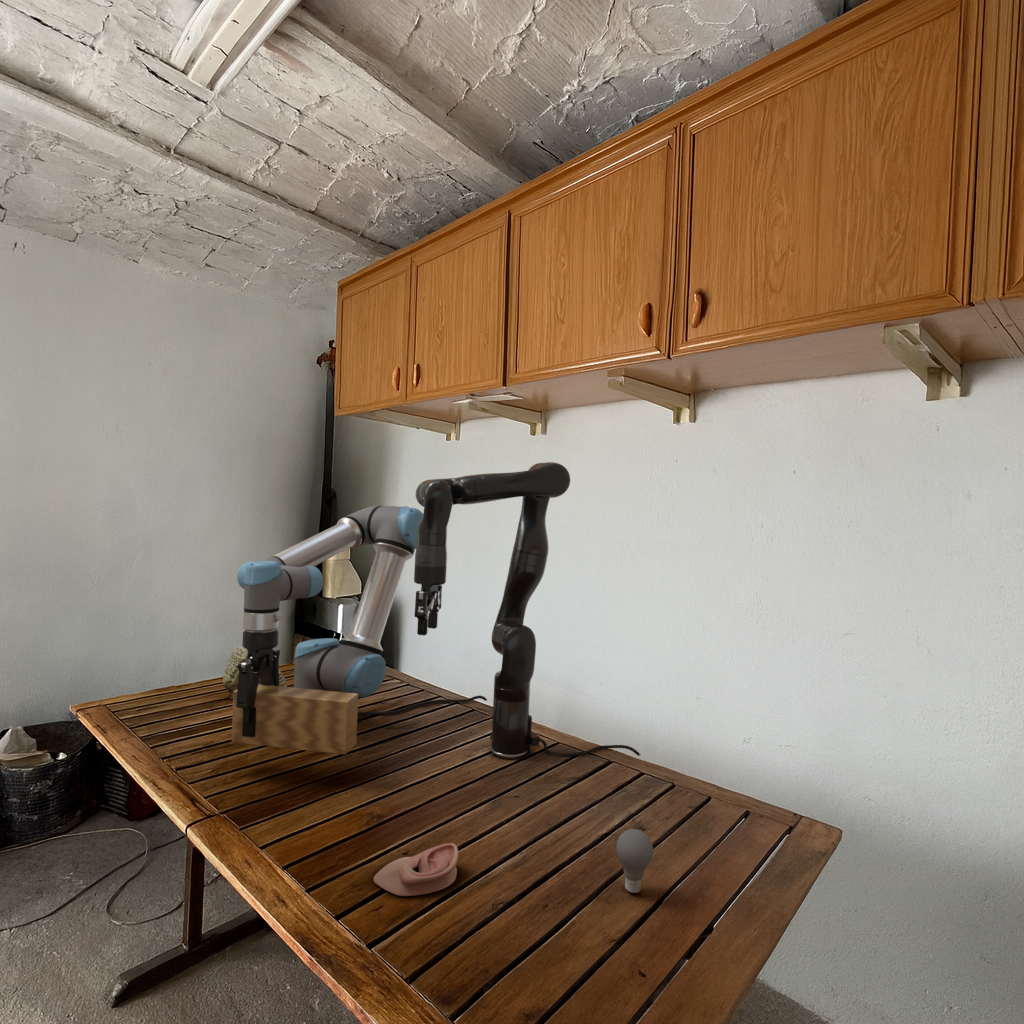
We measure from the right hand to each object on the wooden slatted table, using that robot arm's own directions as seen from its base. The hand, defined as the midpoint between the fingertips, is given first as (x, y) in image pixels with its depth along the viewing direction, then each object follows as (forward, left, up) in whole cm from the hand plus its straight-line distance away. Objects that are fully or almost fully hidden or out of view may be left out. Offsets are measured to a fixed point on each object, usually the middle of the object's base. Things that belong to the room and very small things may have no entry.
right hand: (427, 631), depth 150 cm
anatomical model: (+15, +42, -32) cm, 55 cm away
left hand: (+36, -11, -23) cm, 44 cm away
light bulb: (-16, +59, -32) cm, 70 cm away
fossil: (+31, -69, -32) cm, 82 cm away
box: (+29, -5, -25) cm, 38 cm away
